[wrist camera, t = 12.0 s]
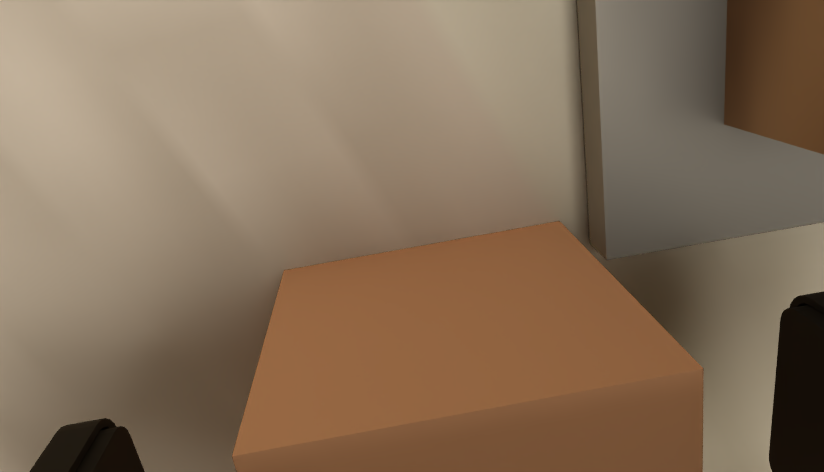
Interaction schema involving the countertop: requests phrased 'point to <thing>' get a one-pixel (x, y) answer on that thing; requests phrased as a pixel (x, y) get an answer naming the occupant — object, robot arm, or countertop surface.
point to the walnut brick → (776, 70)
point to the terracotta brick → (470, 366)
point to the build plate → (677, 135)
